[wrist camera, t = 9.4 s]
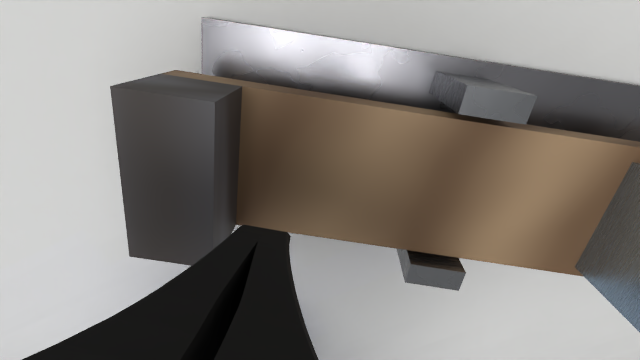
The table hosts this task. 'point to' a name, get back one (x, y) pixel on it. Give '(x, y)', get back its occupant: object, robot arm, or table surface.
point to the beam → (353, 173)
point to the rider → (618, 250)
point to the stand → (421, 93)
